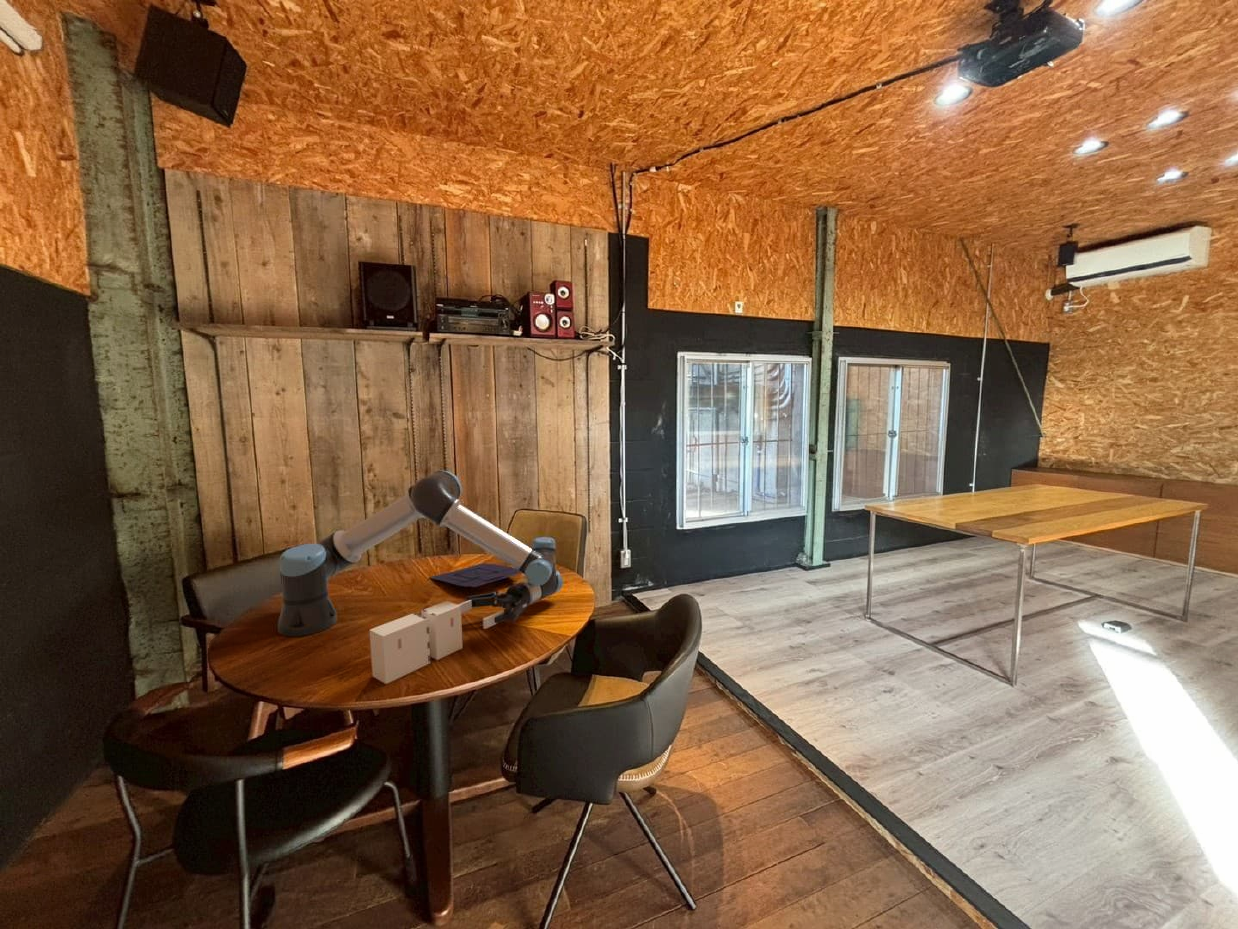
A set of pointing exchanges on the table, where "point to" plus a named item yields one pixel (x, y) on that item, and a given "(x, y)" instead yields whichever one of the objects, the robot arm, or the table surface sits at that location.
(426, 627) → the white slotted block
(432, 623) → the stub
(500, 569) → the navy flat slab
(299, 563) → the robot arm
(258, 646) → the table surface
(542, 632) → the table surface
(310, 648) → the table surface
